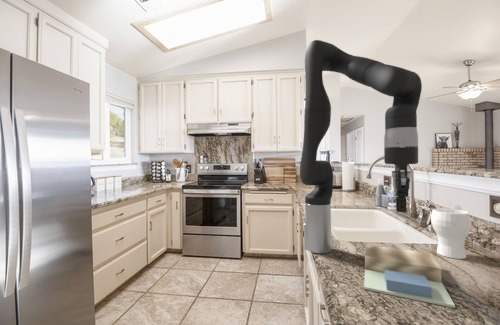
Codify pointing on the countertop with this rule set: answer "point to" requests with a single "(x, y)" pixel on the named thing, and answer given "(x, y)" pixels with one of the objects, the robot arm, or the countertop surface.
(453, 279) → the countertop surface
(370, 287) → the mat
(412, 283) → the tile
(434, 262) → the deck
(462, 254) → the white vase
